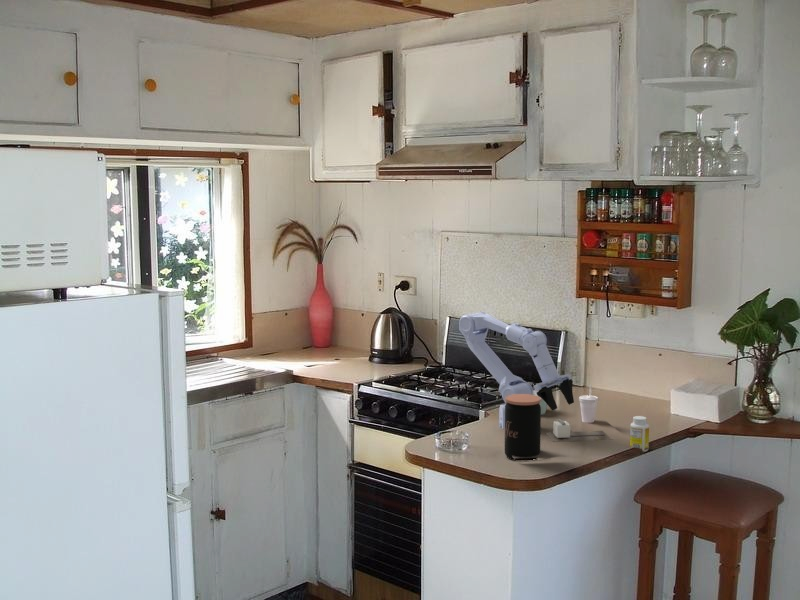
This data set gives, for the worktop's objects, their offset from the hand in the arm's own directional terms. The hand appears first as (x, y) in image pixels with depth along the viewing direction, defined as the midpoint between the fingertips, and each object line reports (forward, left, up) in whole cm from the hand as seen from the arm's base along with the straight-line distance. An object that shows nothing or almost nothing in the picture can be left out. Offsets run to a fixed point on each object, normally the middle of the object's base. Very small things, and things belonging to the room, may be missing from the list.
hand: (563, 406), depth 289 cm
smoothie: (+13, +17, -11) cm, 24 cm away
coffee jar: (-17, -14, -11) cm, 25 cm away
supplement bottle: (+20, -12, -11) cm, 27 cm away
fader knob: (-1, 0, -10) cm, 10 cm away
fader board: (+5, 0, -11) cm, 12 cm away
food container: (-1, +37, -12) cm, 38 cm away
